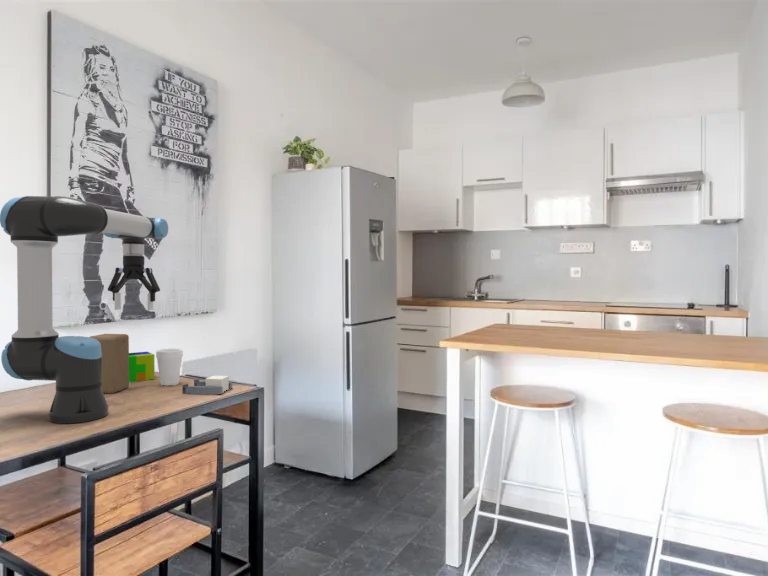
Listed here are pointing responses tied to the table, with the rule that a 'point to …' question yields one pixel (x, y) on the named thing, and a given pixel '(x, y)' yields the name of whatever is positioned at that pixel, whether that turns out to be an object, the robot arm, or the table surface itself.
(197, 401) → the table surface
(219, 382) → the block
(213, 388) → the chute
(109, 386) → the wooden block
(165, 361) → the foam cup
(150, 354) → the puzzle toy
